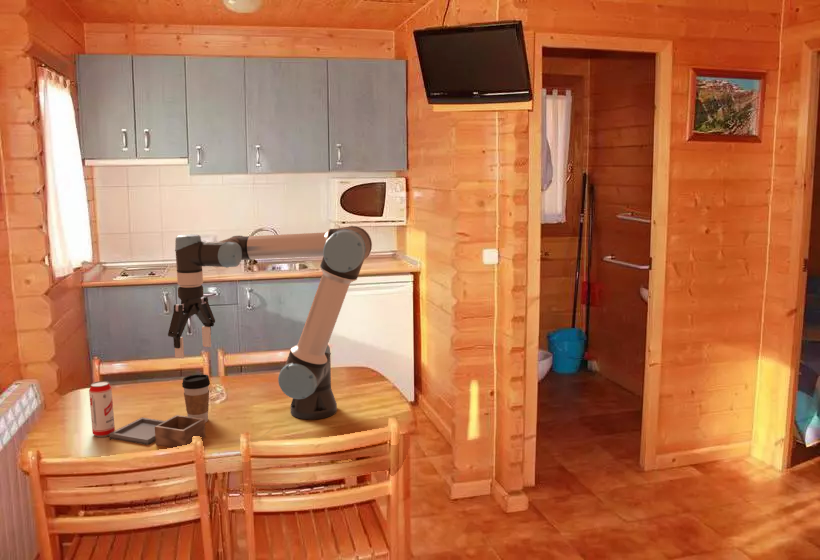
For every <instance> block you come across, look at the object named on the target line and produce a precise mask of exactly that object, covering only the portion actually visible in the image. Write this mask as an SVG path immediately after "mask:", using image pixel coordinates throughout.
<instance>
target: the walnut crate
mask: <svg viewBox="0 0 820 560" xmlns="http://www.w3.org/2000/svg"><path fill="white" fill-rule="evenodd" d="M163 421H164V422H162V423H160V424H159V425H157V426H155V440H156V441H155V445H156V446H161V447H166V448H167V447H168V448H173V447H177V446H182V445H187V444H190V443H191V442H192V437H193V436H200V437H202V439H204V438H206V425H205V424H206V422H205V419H201V418H194V417H188V415H187V416H185V415H180V414H176V415H174V416H172V417H170V418H168V419H167V420H163ZM181 429H182V430H181Z"/></svg>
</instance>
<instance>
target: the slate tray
mask: <svg viewBox="0 0 820 560" xmlns="http://www.w3.org/2000/svg"><path fill="white" fill-rule="evenodd" d="M164 421H165V420H162V419H160V420H159V419H155V418H148V417H140V418H137V419H136V420H134V421H132V422H130V423H128V424H126V425H124V426H121V427H119V428H118V429H115V431H113V432H111V433H109V436H108V437H109V440H110V441H111V440H117V441H123V442H127V443H128V442H130V443H135V444H139V445H140V444H141V445H146V446H149V445H151V444H153V443H154V442H156V440H155V426H157V425H159V424H160V423H162V422H164Z"/></svg>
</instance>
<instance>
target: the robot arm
mask: <svg viewBox="0 0 820 560" xmlns="http://www.w3.org/2000/svg"><path fill="white" fill-rule="evenodd" d="M174 240H175V247H174V248H175V249H174V252H175V261H176V276H177V277H176V278H177V279H176V280H177V281H176V282H177V283H176V284H177V298H178V299H179V300H180V304H179V303H178V304H176V303H174V304H173V311H172V317H171V320H170V325H169V329H168V333H167V336H168V337H169V338H172V340H173V348H174V358H175V359H185V348H184V347H185V346H184V337H183V336H182V335H183V332H184V331H185V328H186V325H187V324H188V321H189V319H191V317H192V316H195V315H196V317H197V318H198V320H199V321H200V322H201V324H202V325H203V326H201V337H202V338H201V339H202V347H205V348H212V336H211V335H212V327H214V326H215V323H216V319H215V317H214V313H213V312H212V309H211V306H210V304H209V298H208V296H204V285H203V283H204V276H203V267H215V268H217V267H218V268H221V267H222V268H227V269H229V268H235V267H238V266H239V265H240V263H241V262H242V261H249V260H268V259H269V260H270V259H271V260H272V259H273V260H274V259H291V258H292V259H295V258H301V259H302V258H321V257H322V260H321V263H320V266H319V268H320V270H321V272H322V276H321V278H320V281H319V282H318V283H319V284H318V286H317V289H316V292H315V294H314V297H313V301H312V303H311V307H310V309H309V312H308V314H307V317H306V319H305V324H304V326H303V328H302V332H301V334H300V337H299V339H298V342H297V344H295V345H293V346H292V347H291V348H290V351H289V353H288V356H287V359H286V362H285V364H284V366H283V367H282V368H281V370H280V371H279V374H278V377H277V379H278V386H279V388H280V390H281V391H282V392H283V394H285V396H287V397H289V398H291V400H292V401H291V403H290V408H289V409H290V414H291V416H292V417H295V418H297V419H301V420H320V419H325V418H330V417H331V416H333V415H336V413H337V411H338V408H337V407H338V405H337V401H336V399H335V398H336V397H335V395H334V392H333V390H332V377H331V376H332V371H331V369H332V368H331V354H332V352H331V347H330V345H329V342H330V340H331V338H332V334H333V331H334V329H335V325H336V322H337V320H338V317H339V315H340V312H341V309H342V307H343V304H344V302H345V298H346V296H347V292H348V290H349V287H350V285H351V283H352V282H356V281H357V280H358V277H359V275H360V272H361V269H362V267H363V264H364V262H365V260H367V258H368V257H369V256H370V254H371V251H372V248H373V242H372V238H371V236H370V234H369V232H367V231H366V230H365V228H362V227H361V226H360V227H359V226H356V225H349V226H345V227H339V228H338V227H337V228H328V230H327V231H326V232H311V233H310V232H308V233H306V232H304V233H290V234H289V233H286V234H270V235H269V234H268V235H266V234H265V235H263V234H262V235H249V236H248V235H247V236H243V235H233V236H231V237H228V238H226V239H223V240H220V241H202V237H201V235H200V234H193V233H188V234H187V233H185V234H179V235H177V236H176V237H175V239H174Z"/></svg>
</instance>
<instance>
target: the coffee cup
mask: <svg viewBox="0 0 820 560" xmlns="http://www.w3.org/2000/svg"><path fill="white" fill-rule="evenodd" d="M210 385H211V383H210V377H209V375H208V374H191V375H187V376H185V377H183V378H182V383H181V387H182V388H183V396H184V402H185V408H186V409H185V410H186V414H187V417H194V418H201V419H205V423H207V422H208V421H209V406H210V404H209V403H210V389H209V388H210V387H209V386H210Z"/></svg>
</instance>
